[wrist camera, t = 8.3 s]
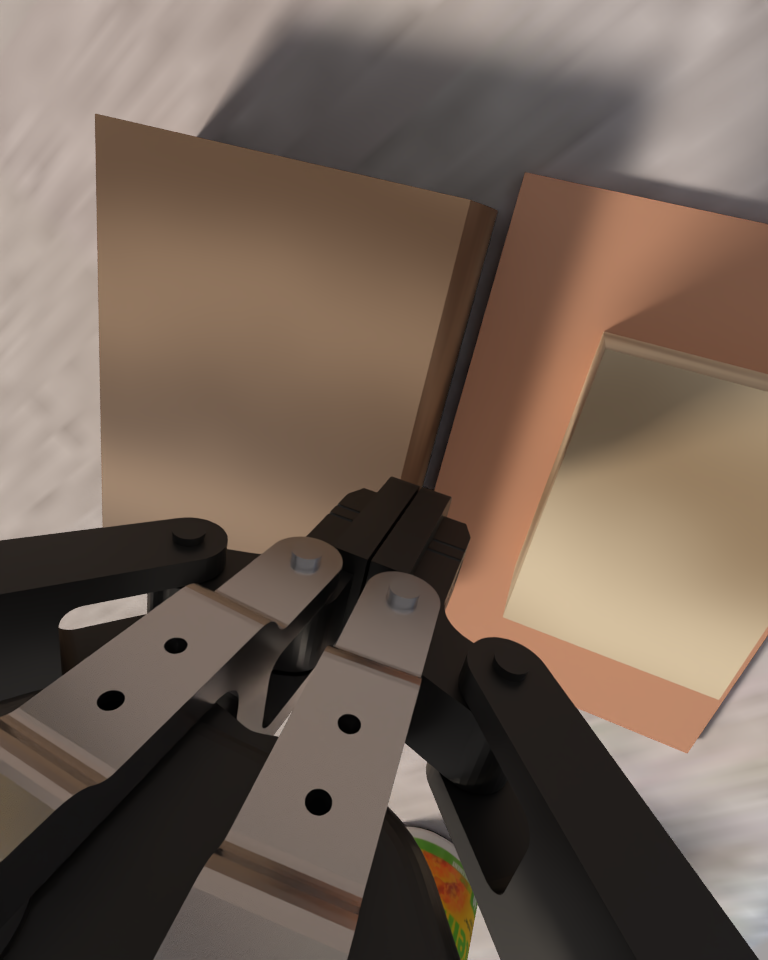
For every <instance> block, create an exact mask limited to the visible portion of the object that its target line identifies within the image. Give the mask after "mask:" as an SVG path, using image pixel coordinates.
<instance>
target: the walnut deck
mask: <svg viewBox="0 0 768 960" xmlns="http://www.w3.org/2000/svg"><path fill="white" fill-rule="evenodd" d="M95 143H96V197H97V250H98V303H99V357H100V410H101V463H102V517H103V527H111V526H119V525H127V524H135V523H143V522H150V521H158V520H166V519H174V518H184V517H192V518H200V519H205V520H208V521H211V522H213V523H216V524H217V525H219V526H220V527H222V528H223V529H224V531H225V532H226V534H227V536H228V544H227V549H231V550H237V551H243V552H249V553H256V554H262V553H264V552H265V551H266V550H267V549H269V548H270V547H271V546H272V545H274V544H275V543H276V542H278V541H280V540H282V539H285V538H289V537H298V536H302V537H306V536H307V535H308V534H309V533H310V532H311V531H312V530H313V529H314V528H315V527H316V526H317V525H318V524H319V523H320V522H321V521H322V520H323V519H324V518H325V516H326V515H327V514H330V511H331V510H332V509H333V508H334V507H335V506H337V505H338V503H339V502H340V501H341V500H342V499H343V498H344V497H345V496H346V495H347V494H348V493H351V492H354V491H357V490H360V489H362V488H366V489H369V490H371V491H374V492H378V491H379V490H380V489H381V487H382V486H383V485H384V484H385V483H386V482H387V480H388V479H389V478H390V477H391V476H392V477H395V478H398V479H401V480H404V481H407V482H410V483H413V484H416V485H419V486H421V488H422V486H423V483H424V479H425V475H426V472H427V468H428V464H429V461H430V457H431V453H432V450H433V446H434V443H435V439H436V435H437V432H438V428H439V424H440V421H441V417H442V413H443V410H444V406H445V402H446V399H447V395H448V391H449V388H450V384H451V380H452V377H453V373H454V369H455V366H456V362H457V358H458V355H459V351H460V347H461V344H462V340H463V337H464V333H465V329H466V326H467V322H468V318H469V315H470V311H471V307H472V304H473V300H474V296H475V293H476V289H477V285H478V282H479V278H480V274H481V271H482V267H483V263H484V260H485V256H486V252H487V249H488V245H489V241H490V238H491V234H492V231H493V227H494V223H495V220H496V216H497V212H498V210H495V209H493V208H490V207H488V206H485V205H482V204H480V203H477V202H475V201H472V200H469V199H464V198H460V197H456V196H451V195H447V194H443V193H438V192H434V191H430V190H425V189H421V188H416V187H412V186H408V185H403V184H399V183H395V182H390V181H386V180H382V179H377V178H373V177H369V176H364V175H360V174H356V173H351V172H347V171H343V170H338V169H334V168H330V167H325V166H321V165H316V164H312V163H308V162H303V161H299V160H295V159H290V158H286V157H282V156H277V155H273V154H269V153H264V152H260V151H256V150H251V149H247V148H243V147H238V146H234V145H229V144H225V143H221V142H216V141H212V140H208V139H203V138H199V137H195V136H190V135H186V134H182V133H177V132H173V131H169V130H164V129H160V128H156V127H151V126H147V125H142V124H138V123H134V122H129V121H125V120H121V119H116V118H112V117H108V116H103V115H99V114H95Z"/></svg>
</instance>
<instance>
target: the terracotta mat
mask: <svg viewBox="0 0 768 960" xmlns="http://www.w3.org/2000/svg"><path fill="white" fill-rule="evenodd" d="M603 332H608V333H612V334H616V335H619V336H623V337H627V338H631V339H635V340H639V341H642V342H646V343H650V344H654V345H658V346H662V347H665V348H669V349H673V350H677V351H681V352H685V353H688V354H692V355H696V356H700V357H704V358H708V359H711V360H715V361H719V362H723V363H727V364H731V365H734V366H738V367H742V368H746V369H750V370H754V371H757V372H761V373H765V374H768V224H764V223H760V222H755V221H750V220H746V219H741V218H736V217H732V216H727V215H722V214H718V213H713V212H708V211H704V210H699V209H694V208H690V207H685V206H680V205H676V204H671V203H666V202H662V201H657V200H652V199H648V198H643V197H638V196H634V195H629V194H624V193H620V192H615V191H610V190H606V189H601V188H596V187H592V186H587V185H582V184H578V183H573V182H568V181H564V180H559V179H554V178H550V177H545V176H540V175H536V174H531V173H526V172H525V174H524V177H523V181H522V184H521V188H520V191H519V195H518V198H517V202H516V205H515V209H514V212H513V216H512V219H511V223H510V226H509V230H508V233H507V237H506V240H505V244H504V247H503V251H502V254H501V258H500V261H499V265H498V268H497V272H496V275H495V279H494V282H493V286H492V289H491V293H490V296H489V300H488V303H487V307H486V310H485V314H484V317H483V321H482V324H481V328H480V331H479V335H478V339H477V342H476V346H475V349H474V353H473V356H472V360H471V363H470V367H469V370H468V374H467V377H466V381H465V384H464V388H463V391H462V395H461V398H460V402H459V405H458V409H457V412H456V416H455V419H454V423H453V426H452V430H451V433H450V437H449V440H448V444H447V447H446V451H445V454H444V458H443V461H442V465H441V468H440V472H439V475H438V479H437V482H436V486H435V489H434V491H436V492H439V493H442V494H445V495H448V496H451V497H452V501H451V505H450V508H449V512H448V515H447V517H448V518H451V519H454V520H456V521H459V522H462V523H465V524H466V525H467V528H468V531H469V534H470V537H471V538H470V541H469V544H468V547H467V550H466V554H465V557H464V560H463V563H462V566H461V569H460V572H459V575H458V578H457V581H456V584H455V587H454V590H453V592H452V595H451V597H450V600H449V602H448V605H447V608H446V610H445V613H446V616H447V618H448V620H449V621H450V623H451V624H452V625H453V627H454V628H455V629H456V630H457V631H458V632H459V633H461V634H462V635H463V636H464V637H466V638H467V639H469V640H470V641H472V642H473V643H474V642H476V641H477V640H480V639H482V638H487V637H499V638H505V639H509V640H512V641H515V642H517V643H519V644H521V645H523V646H525V647H526V648H528V649H530V650H531V651H532V652H533V653H535V654H536V655H537V656H538V657H539V658H540V659H541V660H542V661H543V663H544V664H545V665H546V667H547V668H548V669H549V671H550V672H551V674H552V675H553V676H554V678H555V679H556V680H557V682H558V683H559V685H560V686H561V687H562V689H563V690H564V691H565V693H566V694H567V696H568V697H569V698H570V700H571V701H572V702H573V704H574V705H575V707H576V708H578V709H581V710H583V711H586V712H588V713H590V714H593V715H595V716H598V717H600V718H603V719H605V720H607V721H610V722H612V723H615V724H617V725H620V726H622V727H624V728H627V729H629V730H632V731H634V732H637V733H639V734H641V735H644V736H646V737H649V738H651V739H653V740H656V741H658V742H661V743H663V744H666V745H668V746H670V747H673V748H675V749H678V750H680V751H683V752H685V753H688V752H689V750H690V749H691V747H692V746H693V744H694V743H695V741H696V740H697V738H698V737H699V735H700V734H701V732H702V731H703V730H704V728H705V727H706V725H707V724H708V722H709V721H710V719H711V718H712V716H713V715H714V713H715V712H716V710H717V709H718V708H719V706H720V705H721V703H722V702H723V700H724V699H725V697H726V696H727V694H728V693H729V691H730V690H731V688H732V687H733V685H734V684H735V683H736V681H737V680H738V678H739V677H740V675H741V674H742V672H743V671H744V669H745V668H746V666H747V665H748V663H749V662H750V661H751V659H752V658H753V656H754V655H755V653H756V652H757V650H758V649H759V647H760V646H761V644H762V643H763V641H764V640H765V638H766V637H767V636H768V627H767V628H766V630H765V631H764V633H763V634H762V636H761V637H760V639H759V640H758V642H757V643H756V645H755V646H754V648H753V649H752V651H751V652H750V654H749V656H748V657H747V659H746V660H745V662H744V663H743V665H742V666H741V668H740V669H739V671H738V672H737V674H736V675H735V677H734V678H733V680H732V681H731V683H730V684H729V686H728V687H727V689H726V690H725V692H724V693H723V695H722V696H721V698H720V699H719V700H718V699H715V698H712V697H710V696H707V695H704V694H702V693H699V692H697V691H694V690H691V689H689V688H686V687H684V686H681V685H678V684H676V683H673V682H671V681H668V680H665V679H663V678H660V677H658V676H655V675H652V674H650V673H647V672H644V671H642V670H639V669H637V668H634V667H631V666H629V665H626V664H624V663H621V662H618V661H616V660H613V659H611V658H608V657H605V656H603V655H600V654H597V653H595V652H592V651H590V650H587V649H584V648H582V647H579V646H577V645H574V644H571V643H569V642H566V641H564V640H561V639H558V638H556V637H553V636H551V635H548V634H545V633H543V632H540V631H537V630H535V629H532V628H530V627H527V626H524V625H522V624H519V623H517V622H514V621H511V620H509V619H506V618H504V617H503V614H504V610H505V606H506V601H507V597H508V593H509V589H510V585H511V581H512V577H513V573H514V569H515V565H516V562H517V560H518V557H519V554H520V552H521V549H522V546H523V544H524V541H525V538H526V536H527V533H528V530H529V528H530V525H531V523H532V520H533V517H534V515H535V512H536V509H537V507H538V504H539V501H540V499H541V496H542V493H543V491H544V488H545V485H546V483H547V480H548V478H549V475H550V472H551V470H552V467H553V464H554V462H555V459H556V456H557V454H558V451H559V448H560V446H561V443H562V440H563V438H564V435H565V432H566V430H567V427H568V425H569V422H570V419H571V417H572V414H573V411H574V409H575V406H576V403H577V401H578V398H579V395H580V393H581V390H582V387H583V385H584V382H585V379H586V377H587V374H588V372H589V369H590V366H591V364H592V361H593V358H594V356H595V353H596V350H597V348H598V345H599V342H600V340H601V337H602V334H603Z"/></svg>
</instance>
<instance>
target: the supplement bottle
mask: <svg viewBox="0 0 768 960" xmlns="http://www.w3.org/2000/svg"><path fill="white" fill-rule="evenodd" d="M406 828H407V829H408V830H409V832H410V833H411V834H412V836H413V838H414V839H415V841H416V843H417V844H418V846H419V847H420V849H421V851H422V853H423V855H424V857H425V859H426V861H427V863H428V865H429V867H430V870H431V872H432V875H433V877H434V880H435V883H436V886H437V889H438V892H439V895H440V898H441V901H442V904H443V907H444V910H445V913H446V916H447V919H448V923H449V926H450V929H451V932H452V935H453V938H454V941H455V944H456V947H457V950H458V953H459V956H460V959H461V960H467V958H468V953H469V947H470V942H471V936H472V931H473V925H474V920H475V915H476V909H477V904H478V903H477V901H476V898H475V896H474V893H473V891H472V889H471V886H470V884H469V881H468V879H467V876H466V874H465V871H464V869H463V866H462V864H461V862H460V859H459V857H458V854H457V852H456V849H455V847H454V844H452V843H451V842H450V841H448V840H447V839H445V838H443V837H441V836H439V835H438V834H436V833H433V832H431V831H428V830H425V829H422V828H417V827H406Z"/></svg>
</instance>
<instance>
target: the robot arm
mask: <svg viewBox="0 0 768 960" xmlns="http://www.w3.org/2000/svg"><path fill="white" fill-rule="evenodd" d="M451 501H452V497H451V496H448V495H445V494H442V493H439V492H436V491H433V490H430V489H427V488H425V487H422V488H421V486H419V485H416V484H413V483H410V482H407V481H404V480H401V479H398V478H395V477H392V476H391V477H390V478H389V479H388V480H387V482H386V483H385V484H384V485H383V486H382V487H381V489H380V490H379V491H378V492H374V491H371V490H369V489H366V488H362V489H360V490H357V491H354V492H351V493H348V494H347V495H346V496H345V497H344V498H343V499H342V500H341V501H340V502H339V503H338V505H337V506H335V507H334V508H333V509H332V510H331V511H330V514H327V515H326V516H325V518H324V519H323V520H322V521H321V522H320V523H319V524H318V525H317V526H316V527H315V528H314V529H313V530H312V531H311V532H310V533H309V534H308V535H307V536H306V537H302V536H298V537H289V538H285V539H282V540H280V541H278V542H276V543H275V544H274V545H272V546H271V547H270V548H269V549H267V550H266V551H265V552H264V553H262V554H256V553H249V552H243V551H237V550H231V549H227V544H228V536H227V534H226V532H225V531H224V529H223V528H222V527H220V526H219V525H217V524H216V523H213V522H211V521H208V520H205V519H200V518H192V517H184V518H174V519H166V520H158V521H150V522H143V523H135V524H127V525H119V526H111V527H103V528H95V529H88V530H80V531H72V532H64V533H56V534H48V535H41V536H33V537H25V538H17V539H9V540H1V541H0V960H461V959H460V956H459V953H458V950H457V947H456V944H455V941H454V938H453V935H452V932H451V929H450V926H449V923H448V919H447V916H446V913H445V910H444V907H443V904H442V901H441V898H440V895H439V892H438V889H437V886H436V883H435V880H434V877H433V875H432V872H431V870H430V867H429V865H428V863H427V861H426V859H425V857H424V855H423V853H422V851H421V849H420V847H419V846H418V844H417V843H416V841H415V839H414V838H413V836H412V834H411V833H410V832H409V830H408V829H407V828H406V827H405V825H404V824H403V823H402V821H401V820H400V819H399V818H398V817H397V816H396V814H395V813H394V812H393V811H392V810H391V809H390V808H389V807H388V802H389V798H390V795H391V791H392V787H393V784H394V780H395V776H396V773H397V769H398V765H399V762H400V758H401V754H402V751H403V747H404V743H406V744H407V745H408V746H409V747H410V748H412V749H413V750H414V751H415V752H416V753H417V754H419V755H420V756H421V757H422V758H423V759H424V760H426V761H427V765H426V775H427V780H428V783H429V786H430V788H431V791H432V793H433V795H434V798H435V800H436V803H437V805H438V808H439V810H440V813H441V815H442V817H443V820H444V822H445V825H446V827H447V830H448V832H449V835H450V837H451V840H452V842H453V844H454V847H455V849H456V852H457V854H458V857H459V859H460V862H461V864H462V866H463V869H464V871H465V874H466V876H467V879H468V881H469V884H470V886H471V889H472V891H473V893H474V896H475V898H476V901H477V903H478V906H479V908H480V911H481V913H482V915H483V918H484V920H485V923H486V925H487V928H488V930H489V933H490V935H491V937H492V940H493V942H494V945H495V947H496V950H497V952H498V955H499V957H500V960H759V959H758V958H757V956H756V955H755V953H754V952H753V951H752V949H751V948H750V947H749V945H748V944H747V942H746V941H745V940H744V938H743V937H742V936H741V934H740V933H739V931H738V930H737V929H736V927H735V926H734V925H733V923H732V922H731V920H730V919H729V918H728V916H727V915H726V913H725V912H724V911H723V909H722V908H721V907H720V905H719V904H718V902H717V901H716V900H715V898H714V897H713V896H712V894H711V893H710V891H709V890H708V889H707V887H706V886H705V885H704V883H703V882H702V880H701V879H700V878H699V876H698V875H697V873H696V872H695V871H694V869H693V868H692V867H691V865H690V864H689V862H688V861H687V860H686V858H685V857H684V856H683V854H682V853H681V851H680V850H679V849H678V847H677V846H676V845H675V843H674V842H673V840H672V839H671V838H670V836H669V835H668V834H667V832H666V831H665V829H664V828H663V827H662V825H661V824H660V822H659V821H658V820H657V818H656V817H655V816H654V814H653V813H652V811H651V810H650V809H649V807H648V806H647V805H646V803H645V802H644V800H643V799H642V798H641V796H640V795H639V794H638V792H637V791H636V789H635V788H634V787H633V785H632V784H631V782H630V781H629V780H628V778H627V777H626V776H625V774H624V773H623V771H622V770H621V769H620V767H619V766H618V765H617V763H616V762H615V760H614V759H613V758H612V756H611V755H610V754H609V752H608V751H607V749H606V748H605V747H604V745H603V744H602V742H601V741H600V740H599V738H598V737H597V736H596V734H595V733H594V731H593V730H592V729H591V727H590V726H589V725H588V723H587V722H586V720H585V719H584V718H583V716H582V715H581V714H580V712H579V711H578V709H577V708H576V707H575V705H574V704H573V702H572V701H571V700H570V698H569V697H568V696H567V694H566V693H565V691H564V690H563V689H562V687H561V686H560V685H559V683H558V682H557V680H556V679H555V678H554V676H553V675H552V674H551V672H550V671H549V669H548V668H547V667H546V665H545V664H544V663H543V661H542V660H541V659H540V658H539V657H538V656H537V655H536V654H535V653H533V652H532V651H531V650H530V649H528V648H526V647H525V646H523V645H521V644H519V643H517V642H515V641H512V640H509V639H505V638H499V637H487V638H482V639H480V640H477V641H476V642H474V643H473V642H472V641H470V640H469V639H467V638H466V637H464V636H463V635H462V634H461V633H459V632H458V631H457V630H456V629H455V628H454V627H453V625H452V624H451V623H450V621H449V620H448V618H447V616H446V613H445V610H446V608H447V605H448V602H449V600H450V597H451V595H452V592H453V590H454V587H455V584H456V581H457V578H458V575H459V572H460V569H461V566H462V563H463V560H464V557H465V554H466V550H467V547H468V544H469V541H470V538H471V537H470V534H469V531H468V528H467V525H466V524H465V523H462V522H459V521H456V520H454V519H451V518H448V517H447V515H448V512H449V508H450V505H451ZM146 593H147V614H145V615H140V616H135V617H131V618H126V619H121V620H117V621H112V622H107V623H103V624H98V625H93V626H89V627H84V628H79V629H74V630H64V629H60V628H58V627H59V622H60V621H61V619H62V618H63V616H64V615H65V614H67V613H68V612H69V611H71V610H73V609H75V608H77V607H81V606H85V605H90V604H95V603H100V602H105V601H111V600H116V599H121V598H126V597H131V596H136V595H141V594H146ZM291 712H292V713H291ZM290 713H291V715H290V717H289V718H288V720H287V722H286V724H285V726H284V728H283V730H282V732H281V734H280V736H279V737H277V736H273V735H274V734H275V733H276V732H277V730H278V729H279V728H280V726H281V725H282V724H283V722H284V721H285V720H286V718H287V717H288V716H289V714H290Z"/></svg>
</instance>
